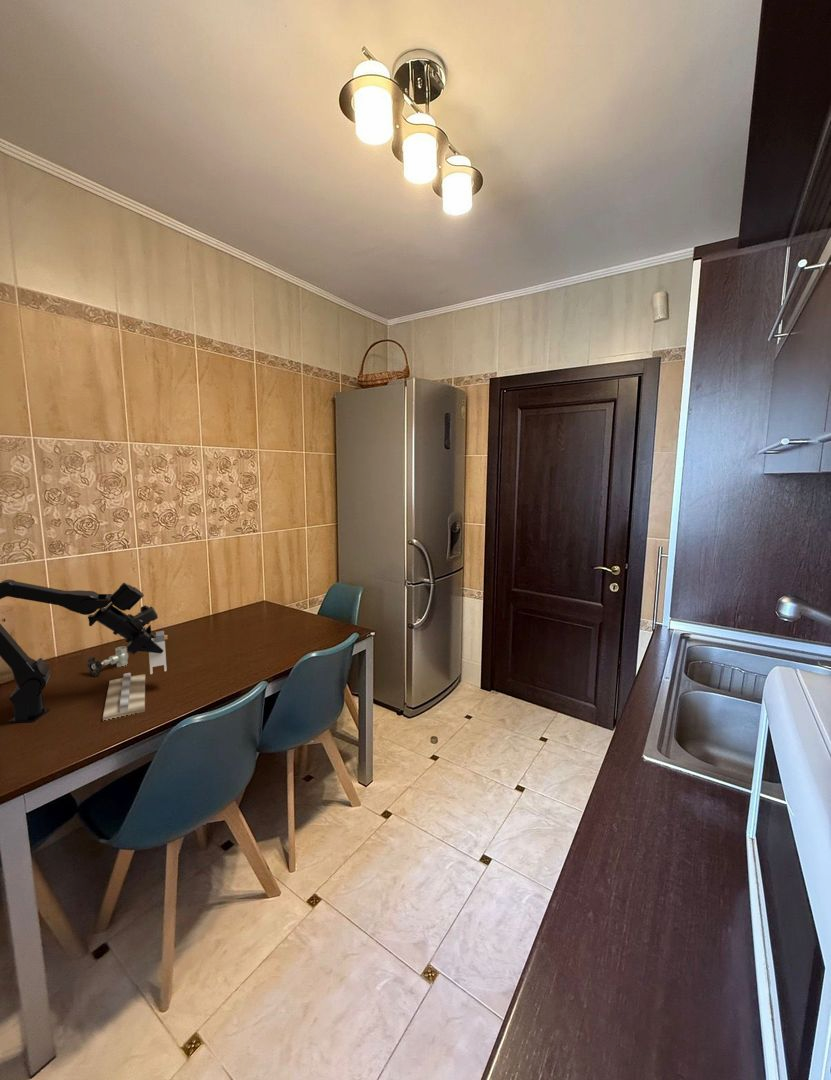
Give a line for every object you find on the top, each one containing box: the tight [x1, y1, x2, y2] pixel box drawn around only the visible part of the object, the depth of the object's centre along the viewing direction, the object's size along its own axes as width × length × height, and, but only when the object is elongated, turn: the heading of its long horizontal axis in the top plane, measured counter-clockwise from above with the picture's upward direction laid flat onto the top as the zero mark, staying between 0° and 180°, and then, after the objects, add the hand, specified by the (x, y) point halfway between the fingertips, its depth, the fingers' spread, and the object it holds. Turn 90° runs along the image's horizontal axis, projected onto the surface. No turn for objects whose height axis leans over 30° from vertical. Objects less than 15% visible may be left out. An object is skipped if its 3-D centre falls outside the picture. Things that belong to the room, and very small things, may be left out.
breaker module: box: [148, 630, 168, 675], centre depth 140 cm, size 4×5×12 cm
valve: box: [86, 645, 129, 677], centre depth 155 cm, size 7×7×12 cm
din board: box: [102, 672, 146, 722], centre depth 137 cm, size 26×10×3 cm, turn 31°
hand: (162, 649), depth 141 cm, fingers closed on breaker module, 4 cm apart
